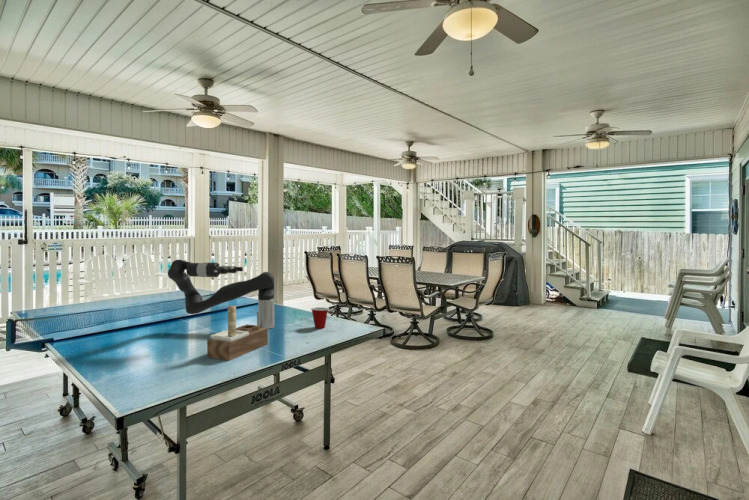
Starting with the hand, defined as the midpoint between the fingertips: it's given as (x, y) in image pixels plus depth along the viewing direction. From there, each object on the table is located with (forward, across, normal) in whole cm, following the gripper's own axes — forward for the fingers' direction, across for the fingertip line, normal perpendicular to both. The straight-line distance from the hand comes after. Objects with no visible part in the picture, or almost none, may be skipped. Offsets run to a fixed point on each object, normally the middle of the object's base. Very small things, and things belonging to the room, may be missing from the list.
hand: (239, 269), depth 199 cm
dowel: (+3, +18, -29) cm, 35 cm away
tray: (+2, +18, -30) cm, 35 cm away
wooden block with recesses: (+4, +12, -38) cm, 40 cm away
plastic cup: (+36, -33, -38) cm, 62 cm away
